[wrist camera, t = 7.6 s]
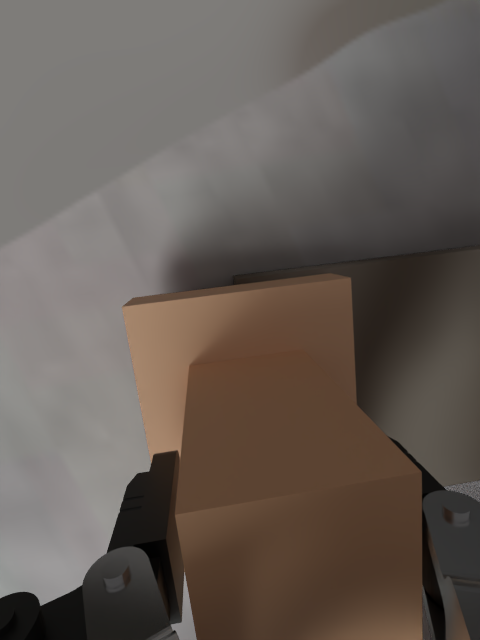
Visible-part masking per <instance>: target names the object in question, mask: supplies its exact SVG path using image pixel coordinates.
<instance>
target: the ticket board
mask: <svg viewBox="0 0 480 640" xmlns="http://www.w3.org/2000/svg"><path fill="white" fill-rule="evenodd" d="M327 273H332V274H337V275H341V276H346V277H350V278H351V289H352V311H353V332H354V354H355V376H356V398H357V406H358V407H359V408H360V409H361V410H362V411H363V412H364V413H365V414H366V415H367V416H368V417H369V418H370V419H371V420H372V421H373V422H374V423H375V424H376V425H377V426H378V427H379V428H380V429H381V430H382V431H383V432H384V433H385V434H386V436H388V437H390V438H392V439H394V440H396V441H398V442H399V443H400V444H401V445H402V446H403V447H404V448H405V449H406V450H407V451H408V454H409V453H410V454H411V455H412V456H413V457H414V458H415V459H416V461H417V462H419V463H420V464H421V465H422V466H423V467H424V468H425V469H426V470H427V471H428V472H429V473H430V474H431V475H432V476H433V477H434V478H435V479H436V480H437V481H438V482H439V483H440V484H441V485H442V486H443V487H444V486H450V485H455V484H461V483H467V482H472V481H478V480H480V245H479V246H471V247H462V248H454V249H446V250H438V251H430V252H422V253H414V254H406V255H398V256H390V257H381V258H373V259H365V260H357V261H349V262H341V263H333V264H325V265H317V266H309V267H301V268H292V269H284V270H276V271H268V272H260V273H252V274H244V275H236V276H233V278H234V285H240V284H248V283H256V282H264V281H272V280H279V279H287V278H295V277H303V276H311V275H319V274H327Z"/></svg>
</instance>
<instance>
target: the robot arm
mask: <svg viewBox="0 0 480 640" xmlns="http://www.w3.org/2000/svg"><path fill="white" fill-rule="evenodd" d="M387 437H388V436H387ZM388 438H389V439H390V440H391V441H392V442H393V443H394V444H395V445H396V446H397V447H398V448H399V449H400V450H401V451H402V452H403V453H404V454H405V455H406V456H407V457H408V458H409V459H410V460H411V461H412V462H413V463H414V464H415V465H416V466H417V468H418V469H419V470H420V471H421V472H422V585H423V603H424V607H425V612H426V616H427V621H428V626H429V630H430V635H431V639H432V640H480V502H478V501H477V500H475V499H474V498H472V497H470V496H467V495H465V494H462V493H459V492H455V491H448V490H446V489H445V488H444V487H443V486H442V485H441V484H440V483H439V482H438V481H437V480H436V479H435V478H434V477H433V476H432V475H431V474H430V473H429V472H428V471H427V470H426V469H425V468H424V467H423V466H422V465H421V464H420V463H419V462H417V461H416V459H415V458H414V457H413V456H412V455H411V454H410V453H409V454H408V451H407V450H406V449H405V448H404V447H403V446H402V445H401V444H400V443H399V442H398V441H396V440H394V439H392V438H390V437H388ZM179 466H180V457H179V453H178V450H175V451H168V452H162V453H156V454H154V455H153V459H152V463H151V467H150V471H149V472H143V473H137V475H136V476H135V477H134V478H133V479H132V481H131V482H130V483H129V484H128V485H127V488H126V491H125V495H124V498H123V501H122V504H121V508H120V513H119V514H118V518H117V521H116V524H115V527H114V531H113V534H112V537H111V540H110V544H109V547H108V550H107V554H105V555H104V556H102V557H101V558H99V559H98V560H97V561H96V562H95V563H94V564H93V565H92V566H91V568H90V569H89V570H88V572H87V574H86V575H85V578H84V580H83V585H82V586H80V587H79V588H77V589H75V590H74V591H72V592H70V593H68V594H66V595H63V596H61V597H59V598H57V599H55V600H53V601H50V602H48V603H46V604H44V605H42V606H40V603H39V600H38V598H37V597H36V596H35V595H34V594H32V593H29V592H17V593H13V594H10V595H7V596H5V597H2V598H0V640H179V637H178V635H177V633H176V631H175V630H174V631H173V630H172V627H171V624H175V623H180V622H182V604H183V584H184V564H183V558H182V553H181V547H180V541H179V536H178V530H177V524H176V519H175V508H176V498H177V487H178V477H179Z"/></svg>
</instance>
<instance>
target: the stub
mask: <svg viewBox="0 0 480 640" xmlns="http://www.w3.org/2000/svg"><path fill="white" fill-rule="evenodd" d="M122 310H123V315H124V320H125V326H126V331H127V336H128V342H129V347H130V352H131V358H132V363H133V368H134V374H135V379H136V384H137V390H138V395H139V400H140V406H141V411H142V417H143V422H144V427H145V433H146V438H147V443H148V449H149V454H150V459H151V463H152V459H153V455H154V454H156V453H162V452H168V451H175V450H178V453H179V457H180V466H179V477H178V487H177V498H176V508H175V519H176V524H177V530H178V536H179V541H180V547H181V553H182V558H183V564H184V572H185V575H186V581H187V586H188V592H189V598H190V603H191V609H192V615H193V620H194V626H195V632H196V637H197V640H422V472H421V471H420V470H419V469H418V468H417V466H416V465H415V464H414V463H413V462H412V461H411V460H410V459H409V458H408V457H407V456H406V455H405V454H404V453H403V452H402V451H401V450H400V449H399V448H398V447H397V446H396V445H395V444H394V443H393V442H392V441H391V440H390V439H389V438H388V437H387V436H386V434H385V433H384V432H383V431H382V430H381V429H380V428H379V427H378V426H377V425H376V424H375V423H374V422H373V421H372V420H371V419H370V418H369V417H368V416H367V415H366V414H365V413H364V412H363V411H362V410H361V409H360V408H359V407H358V406H357V398H356V376H355V354H354V332H353V311H352V289H351V278H350V277H346V276H341V275H337V274H332V273H327V274H319V275H311V276H303V277H295V278H287V279H279V280H272V281H264V282H256V283H248V284H240V285H232V286H224V287H216V288H208V289H200V290H192V291H184V292H176V293H168V294H160V295H152V296H144V297H136V298H132V299H131V300H130V301H129V302H127V303H126V304H125V305H124V306H122Z"/></svg>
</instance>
